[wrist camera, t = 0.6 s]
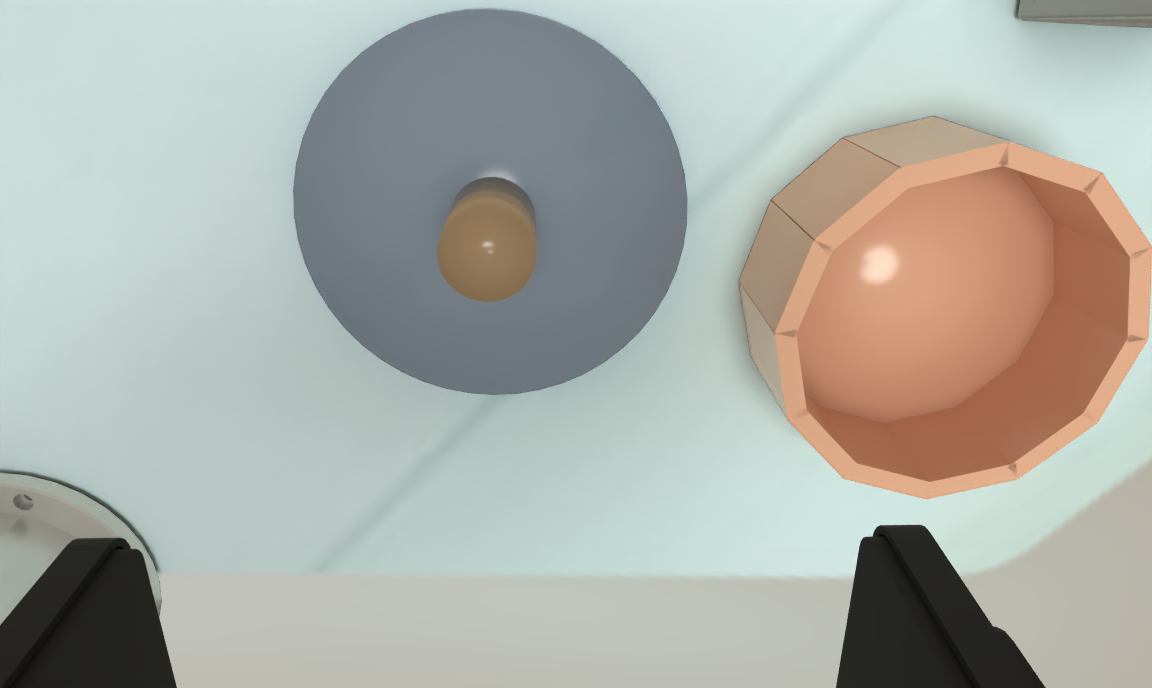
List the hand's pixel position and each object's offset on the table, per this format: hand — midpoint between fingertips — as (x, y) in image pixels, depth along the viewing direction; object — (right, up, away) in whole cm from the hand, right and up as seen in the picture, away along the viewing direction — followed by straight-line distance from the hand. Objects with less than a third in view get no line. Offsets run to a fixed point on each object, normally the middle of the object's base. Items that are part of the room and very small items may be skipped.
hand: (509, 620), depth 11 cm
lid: (-3, +9, +25) cm, 27 cm away
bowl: (+15, +6, +26) cm, 31 cm away
